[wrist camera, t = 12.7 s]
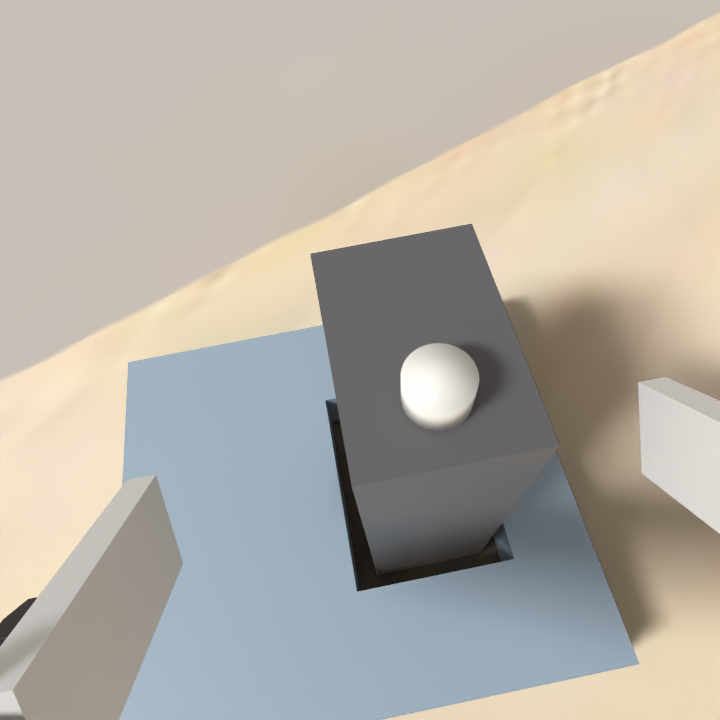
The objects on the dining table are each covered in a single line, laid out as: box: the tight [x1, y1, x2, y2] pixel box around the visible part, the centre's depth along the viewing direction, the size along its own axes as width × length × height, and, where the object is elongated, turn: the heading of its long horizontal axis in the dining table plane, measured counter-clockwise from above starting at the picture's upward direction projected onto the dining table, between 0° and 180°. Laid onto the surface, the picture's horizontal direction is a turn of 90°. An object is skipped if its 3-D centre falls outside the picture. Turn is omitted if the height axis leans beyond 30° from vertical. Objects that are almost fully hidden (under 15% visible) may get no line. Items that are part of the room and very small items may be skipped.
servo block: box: [311, 224, 559, 575], centre depth 18 cm, size 4×6×14 cm
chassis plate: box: [119, 325, 639, 720], centre depth 22 cm, size 18×16×2 cm
